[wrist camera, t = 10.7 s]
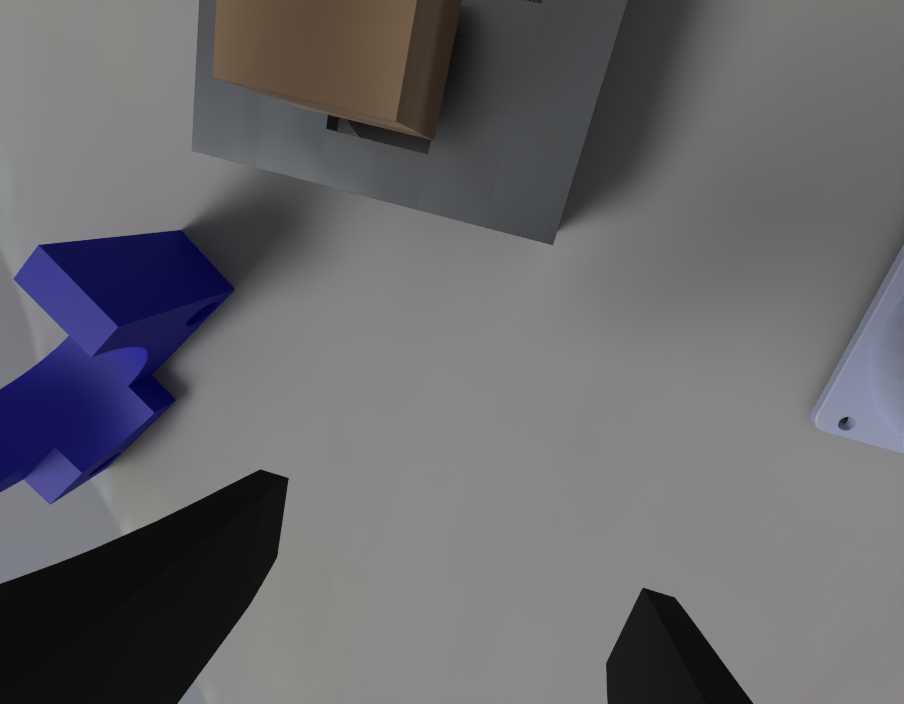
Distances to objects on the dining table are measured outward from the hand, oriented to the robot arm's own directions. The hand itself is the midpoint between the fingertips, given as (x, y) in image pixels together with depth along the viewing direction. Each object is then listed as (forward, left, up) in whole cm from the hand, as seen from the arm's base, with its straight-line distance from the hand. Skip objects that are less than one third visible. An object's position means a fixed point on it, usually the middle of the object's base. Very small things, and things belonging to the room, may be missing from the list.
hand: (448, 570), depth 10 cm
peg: (+5, -10, -10) cm, 15 cm away
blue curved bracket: (+15, +3, -10) cm, 18 cm away
